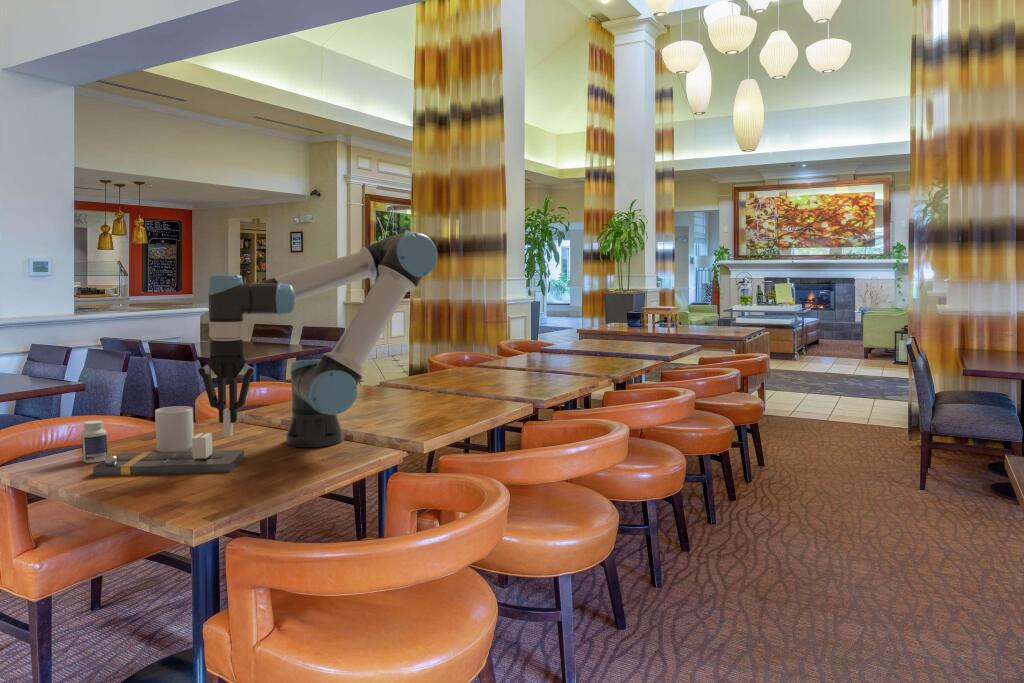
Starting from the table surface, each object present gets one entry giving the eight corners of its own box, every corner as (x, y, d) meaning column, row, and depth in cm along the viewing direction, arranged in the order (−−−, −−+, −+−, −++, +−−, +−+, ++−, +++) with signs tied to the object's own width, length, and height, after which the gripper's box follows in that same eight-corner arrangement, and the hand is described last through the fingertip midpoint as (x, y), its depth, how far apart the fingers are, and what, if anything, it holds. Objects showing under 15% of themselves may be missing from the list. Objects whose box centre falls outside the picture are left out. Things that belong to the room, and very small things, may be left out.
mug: (194, 453, 178) (192, 411, 177) (155, 456, 174) (153, 413, 173) (195, 442, 189) (193, 403, 188) (158, 446, 185) (157, 405, 184)
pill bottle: (112, 459, 172) (110, 420, 171) (92, 464, 167) (89, 425, 166) (98, 456, 174) (96, 418, 173) (77, 461, 169) (75, 422, 168)
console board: (244, 457, 174) (243, 442, 173) (230, 472, 161) (229, 455, 160) (118, 461, 170) (117, 445, 170) (93, 476, 157) (92, 459, 157)
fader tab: (212, 452, 169) (211, 432, 168) (206, 458, 164) (205, 437, 163) (199, 453, 168) (198, 432, 168) (192, 458, 163) (192, 437, 163)
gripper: (258, 337, 169) (259, 432, 171) (203, 337, 167) (205, 432, 169) (250, 340, 161) (252, 439, 163) (192, 340, 160) (195, 439, 162)
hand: (228, 435), depth 166 cm, fingers closed
